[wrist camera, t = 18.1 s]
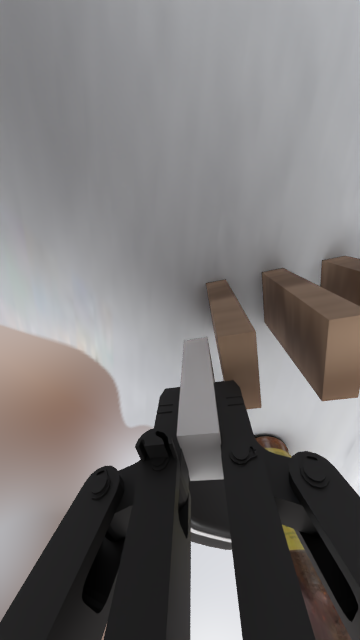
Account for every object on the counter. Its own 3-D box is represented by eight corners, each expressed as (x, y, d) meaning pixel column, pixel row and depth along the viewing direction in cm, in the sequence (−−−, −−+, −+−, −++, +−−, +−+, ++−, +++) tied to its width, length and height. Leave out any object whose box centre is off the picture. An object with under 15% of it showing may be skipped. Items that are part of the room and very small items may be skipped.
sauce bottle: (234, 438, 28) (308, 830, 10) (281, 428, 26) (467, 859, 9) (247, 466, 30) (326, 822, 12) (291, 458, 29) (451, 844, 11)
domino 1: (205, 283, 19) (217, 337, 10) (225, 279, 19) (255, 331, 10) (213, 330, 21) (229, 411, 12) (231, 327, 21) (261, 407, 12)
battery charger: (173, 420, 27) (162, 543, 17) (183, 400, 25) (177, 522, 15) (222, 435, 28) (240, 561, 17) (235, 416, 26) (263, 543, 16)
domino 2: (261, 272, 18) (328, 320, 9) (283, 268, 18) (373, 312, 9) (264, 322, 20) (322, 401, 11) (283, 318, 20) (358, 397, 11)
